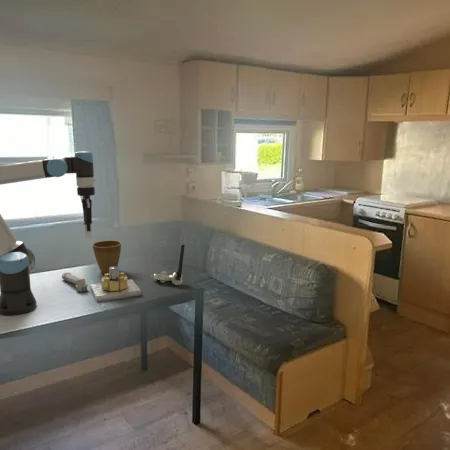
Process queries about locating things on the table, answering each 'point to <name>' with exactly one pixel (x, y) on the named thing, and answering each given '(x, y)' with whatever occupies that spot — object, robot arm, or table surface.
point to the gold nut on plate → (109, 295)
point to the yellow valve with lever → (114, 282)
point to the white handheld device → (76, 281)
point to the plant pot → (107, 254)
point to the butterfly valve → (176, 277)
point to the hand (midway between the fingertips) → (88, 237)
